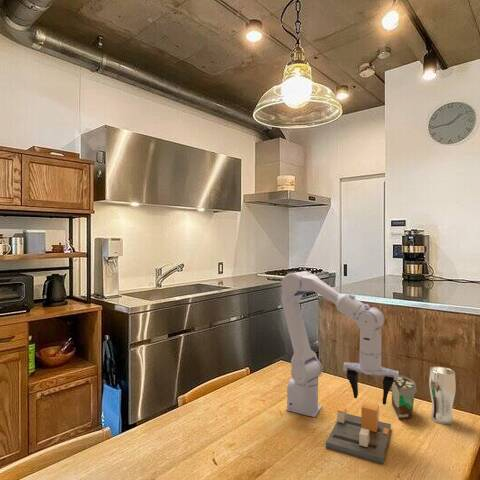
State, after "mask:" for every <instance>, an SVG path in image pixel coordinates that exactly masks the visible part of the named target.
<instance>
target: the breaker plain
mask: <svg viewBox="0 0 480 480" xmlns="http://www.w3.org/2000/svg"><path fill="white" fill-rule="evenodd" d="M368 444H369V430H367V429H363V428H361V430H360V433H359V445H361V446H364V447H368Z"/></svg>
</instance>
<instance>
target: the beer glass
mask: <svg viewBox="0 0 480 480" xmlns="http://www.w3.org/2000/svg"><path fill="white" fill-rule="evenodd" d="M428 379H429V381H428V383H429V385H428V386H429V394H430V399H431V413H430V418H431V420H432V421H433V422H434V423H435V422H436V423H437V424H439V425H449V426H450V425H452V424H454V415H453V405H454V401H455V398H456V397H455V396H456V389H457V388H456V385H457V384H456V382H457V381H456V371H454V370H453V369H451V368H448V367H445V366H444V367H443V366H430V369H429V378H428Z"/></svg>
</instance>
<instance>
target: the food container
mask: <svg viewBox="0 0 480 480" xmlns="http://www.w3.org/2000/svg"><path fill="white" fill-rule="evenodd" d="M417 392H418V389H417V386H416V383H415V381H414V380H412V379H411V378H409V377H407V376H405V375H400V374H399V378H398V380H394V382H393V384H392V386H391V407H392V408H393V411H394V412H395V415H396V417H397V419H398V420H400V421H401V420H402V421H403V420H410V419H412V417H413V413H414V401H415V394H417Z"/></svg>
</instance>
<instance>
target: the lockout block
mask: <svg viewBox="0 0 480 480" xmlns="http://www.w3.org/2000/svg"><path fill="white" fill-rule="evenodd" d="M379 407H380V406H379V404H376V403H372V402H368V401H363V404H362V405H361V415H360V417H361V428H363V429H367V430H369V431H373V432H377V429H378V426H379V420H380V419H379V418H380V417H379V415H380V412H379V411H380V409H379Z"/></svg>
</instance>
